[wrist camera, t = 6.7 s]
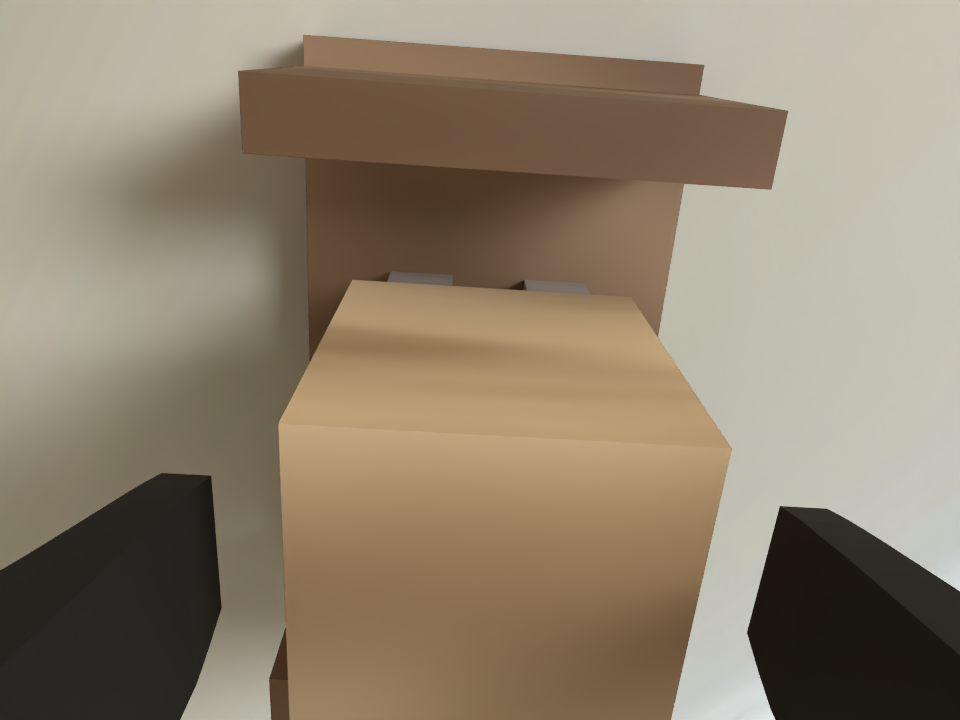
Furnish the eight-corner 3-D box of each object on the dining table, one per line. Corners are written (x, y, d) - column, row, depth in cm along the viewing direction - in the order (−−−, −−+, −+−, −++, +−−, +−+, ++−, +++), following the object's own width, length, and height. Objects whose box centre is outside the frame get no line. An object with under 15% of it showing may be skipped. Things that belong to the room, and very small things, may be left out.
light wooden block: (595, 529, 14) (659, 768, 9) (351, 517, 14) (291, 755, 9) (631, 297, 12) (732, 448, 7) (352, 279, 12) (278, 423, 7)
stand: (604, 580, 19) (649, 755, 14) (322, 567, 18) (272, 741, 14) (688, 64, 14) (797, 69, 9) (314, 36, 14) (235, 27, 9)
